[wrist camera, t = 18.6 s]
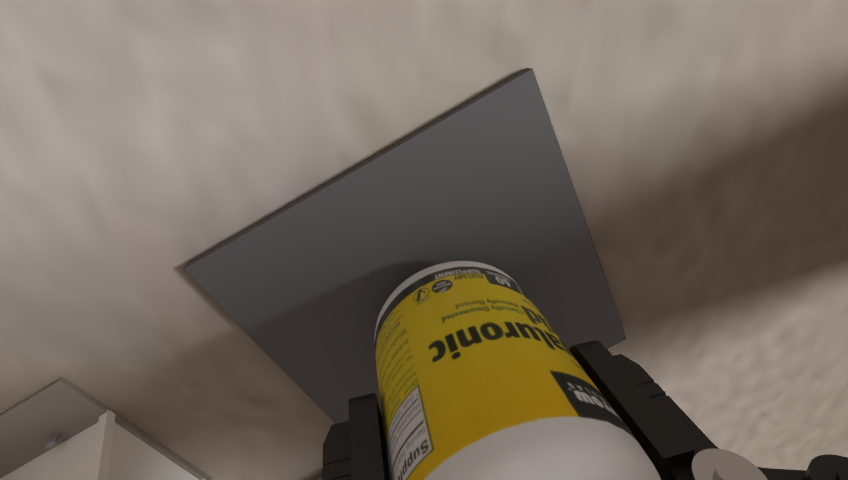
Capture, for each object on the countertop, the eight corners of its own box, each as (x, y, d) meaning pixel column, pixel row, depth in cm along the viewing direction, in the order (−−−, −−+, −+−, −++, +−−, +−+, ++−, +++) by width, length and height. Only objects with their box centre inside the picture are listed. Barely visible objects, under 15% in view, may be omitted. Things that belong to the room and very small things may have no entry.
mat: (526, 68, 12) (532, 68, 12) (620, 332, 18) (626, 338, 18) (187, 263, 13) (183, 269, 13) (380, 460, 18) (381, 469, 18)
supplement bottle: (549, 270, 14) (893, 639, 5) (491, 390, 16) (675, 803, 7) (397, 238, 12) (537, 688, 4) (353, 376, 14) (379, 882, 6)
